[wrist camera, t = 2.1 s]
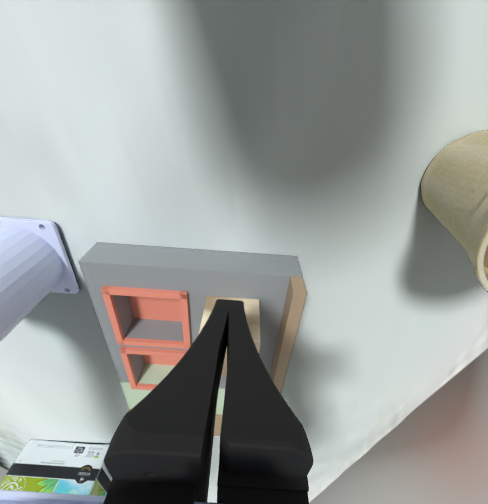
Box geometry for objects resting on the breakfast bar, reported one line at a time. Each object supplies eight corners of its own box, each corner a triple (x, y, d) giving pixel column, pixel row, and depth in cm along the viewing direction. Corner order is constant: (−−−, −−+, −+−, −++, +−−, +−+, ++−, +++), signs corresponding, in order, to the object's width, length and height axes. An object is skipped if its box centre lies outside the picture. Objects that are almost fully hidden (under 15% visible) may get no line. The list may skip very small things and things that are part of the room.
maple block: (207, 331, 24) (199, 375, 21) (207, 295, 22) (197, 338, 18) (254, 334, 24) (254, 379, 21) (259, 299, 22) (260, 343, 18)
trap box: (138, 389, 36) (123, 429, 32) (97, 242, 23) (62, 276, 19) (266, 397, 36) (268, 438, 32) (297, 256, 23) (307, 293, 19)
